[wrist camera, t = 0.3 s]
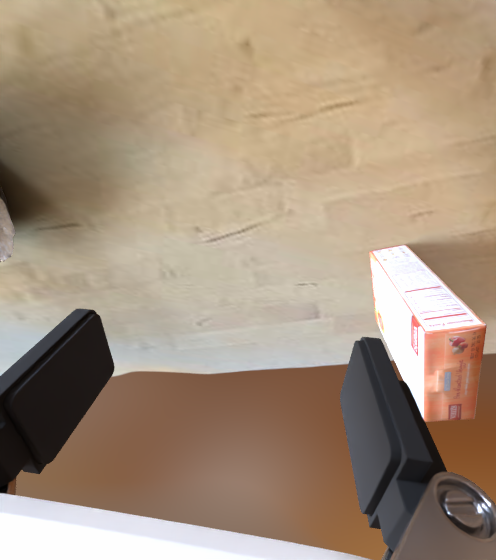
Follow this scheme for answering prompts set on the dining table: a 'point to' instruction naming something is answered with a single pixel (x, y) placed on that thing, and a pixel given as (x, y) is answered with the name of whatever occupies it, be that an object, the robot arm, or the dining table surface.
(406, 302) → the cracker box
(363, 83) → the dining table surface
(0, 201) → the stone bowl
